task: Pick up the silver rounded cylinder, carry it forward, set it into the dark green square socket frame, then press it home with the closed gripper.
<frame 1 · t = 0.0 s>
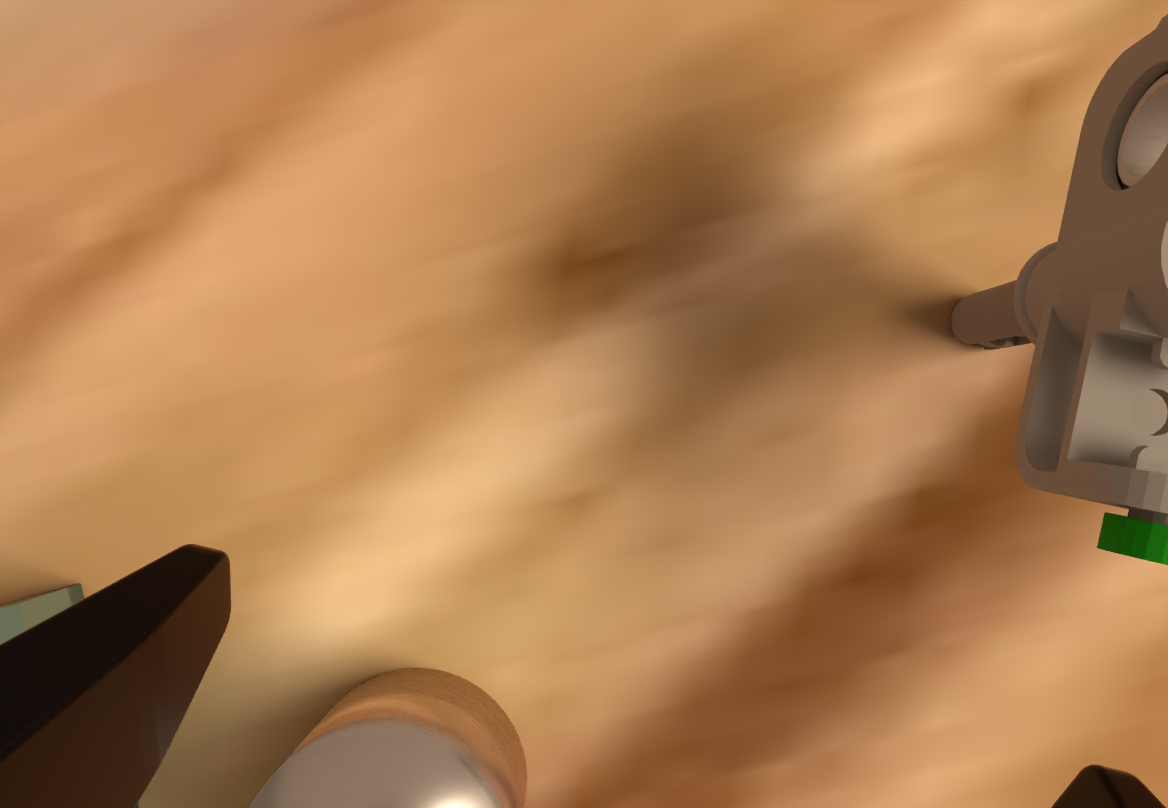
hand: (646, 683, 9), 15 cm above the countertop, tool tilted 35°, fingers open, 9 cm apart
mechanical component: (976, 322, 24), on the countertop
silver rounded cylinder: (417, 778, 24), on the countertop
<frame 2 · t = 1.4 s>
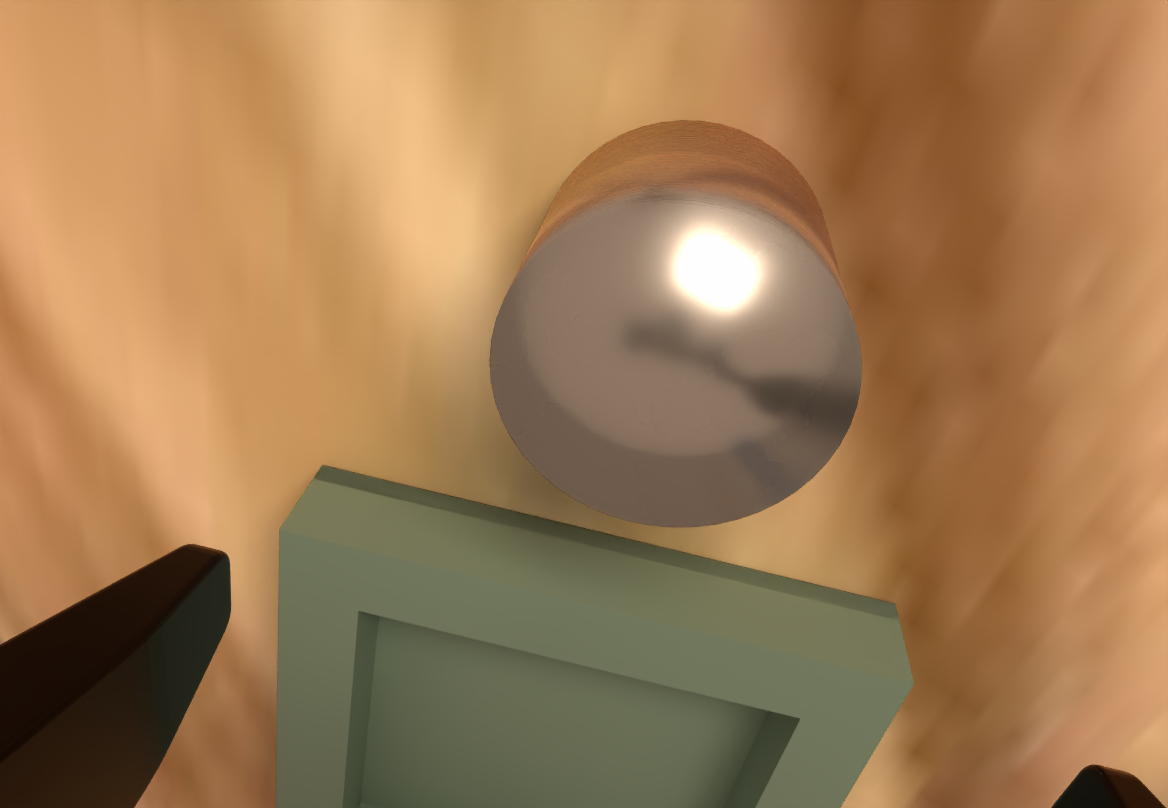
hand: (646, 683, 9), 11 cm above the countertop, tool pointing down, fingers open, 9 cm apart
socket frame: (556, 721, 27), on the countertop
silver rounded cylinder: (682, 265, 19), on the countertop
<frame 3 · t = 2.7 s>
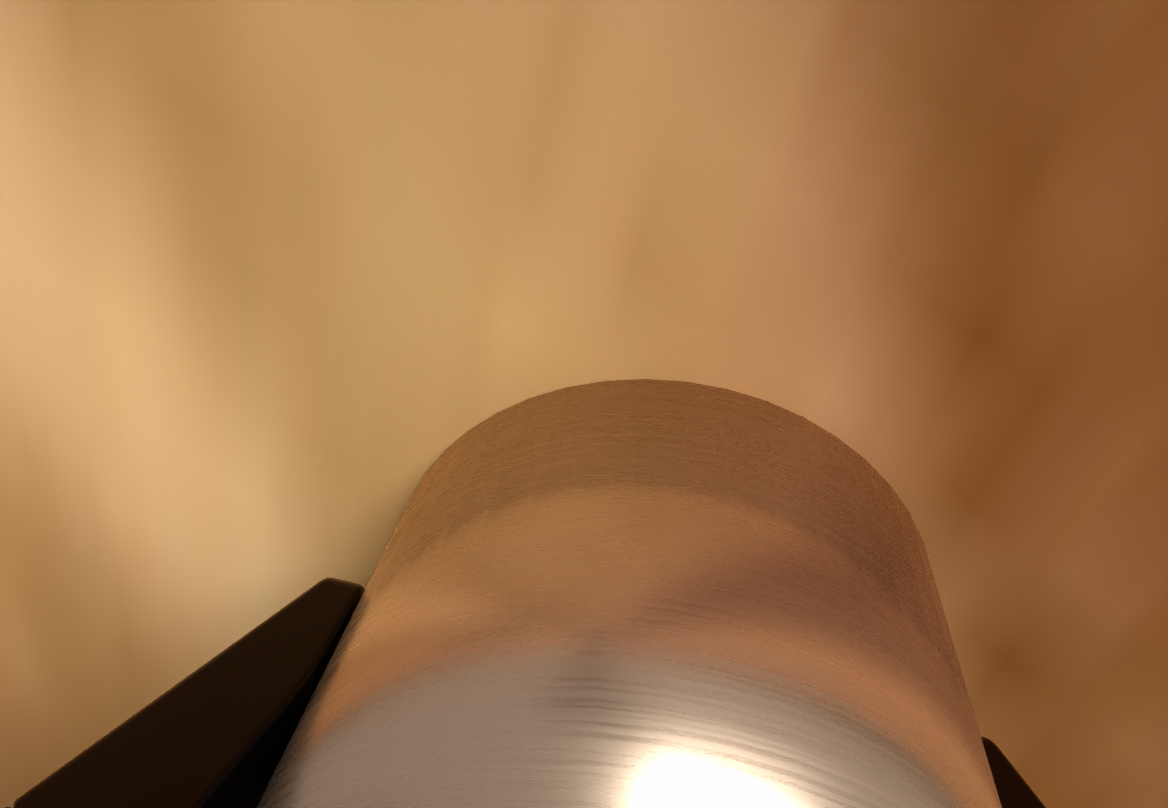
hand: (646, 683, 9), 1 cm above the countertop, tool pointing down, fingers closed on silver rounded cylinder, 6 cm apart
silver rounded cylinder: (653, 610, 10), on the countertop, touching gripper
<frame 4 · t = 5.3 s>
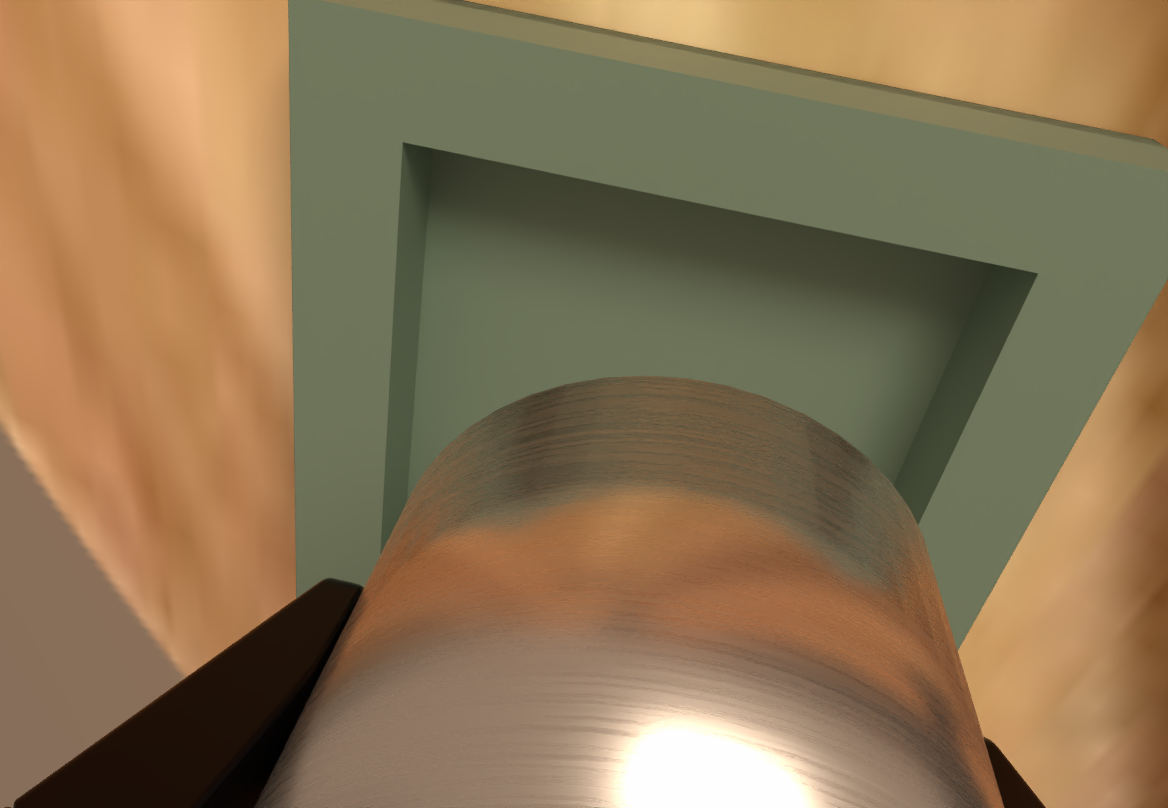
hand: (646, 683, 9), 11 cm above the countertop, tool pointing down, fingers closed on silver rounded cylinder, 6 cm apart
socket frame: (659, 399, 20), on the countertop
silver rounded cylinder: (653, 607, 10), point 10 cm above the countertop, touching gripper
when the fingers open (3 cm above the countertop, at t = 7.9 s): silver rounded cylinder drops 1 cm, resting on socket frame.
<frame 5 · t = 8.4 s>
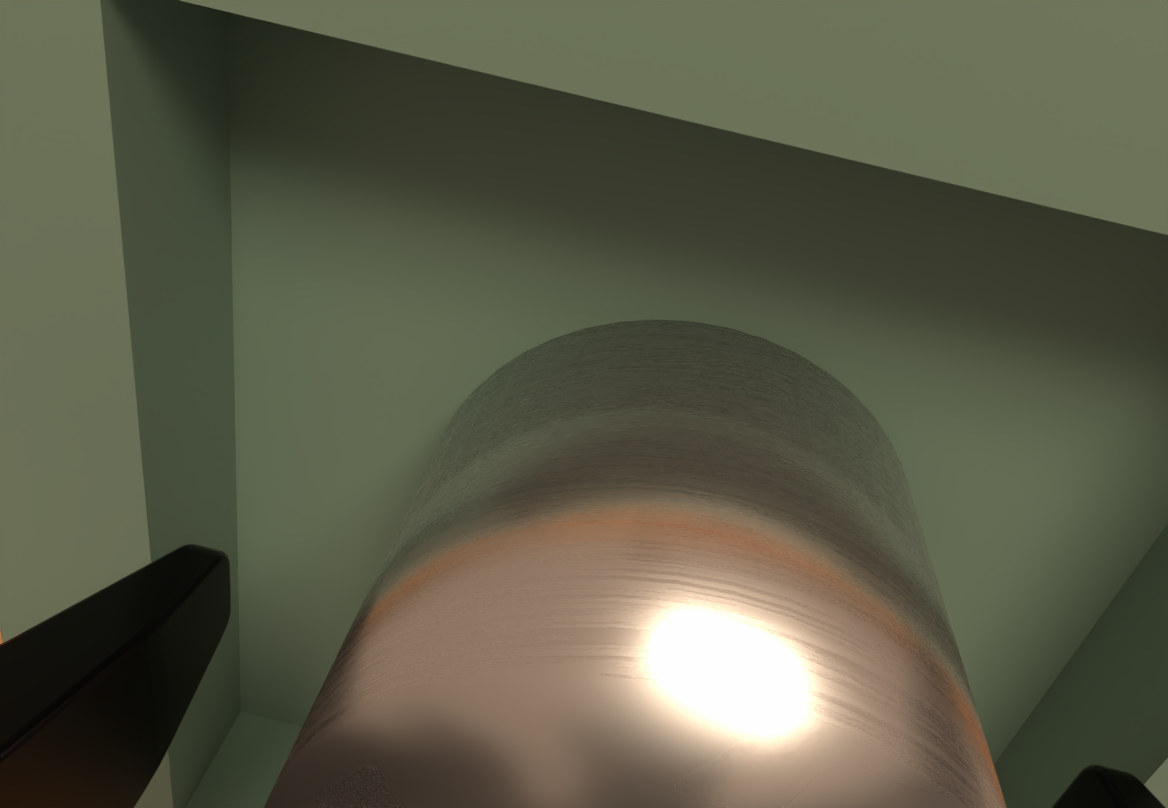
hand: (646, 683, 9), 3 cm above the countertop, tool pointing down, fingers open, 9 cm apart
socket frame: (660, 506, 12), on the countertop
silver rounded cylinder: (661, 535, 11), point 1 cm above the countertop, touching socket frame
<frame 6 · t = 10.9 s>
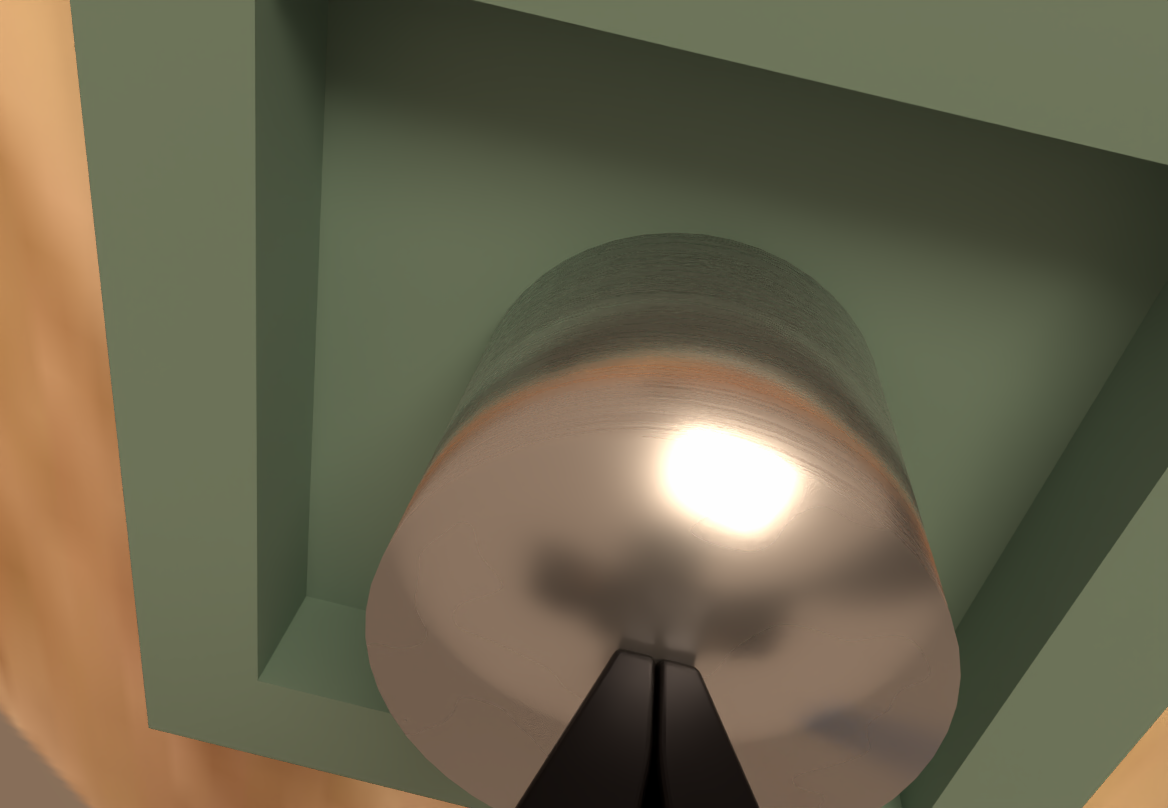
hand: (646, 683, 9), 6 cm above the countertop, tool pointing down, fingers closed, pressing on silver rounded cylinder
socket frame: (672, 403, 14), on the countertop
silver rounded cylinder: (673, 423, 13), point 1 cm above the countertop, touching gripper, socket frame
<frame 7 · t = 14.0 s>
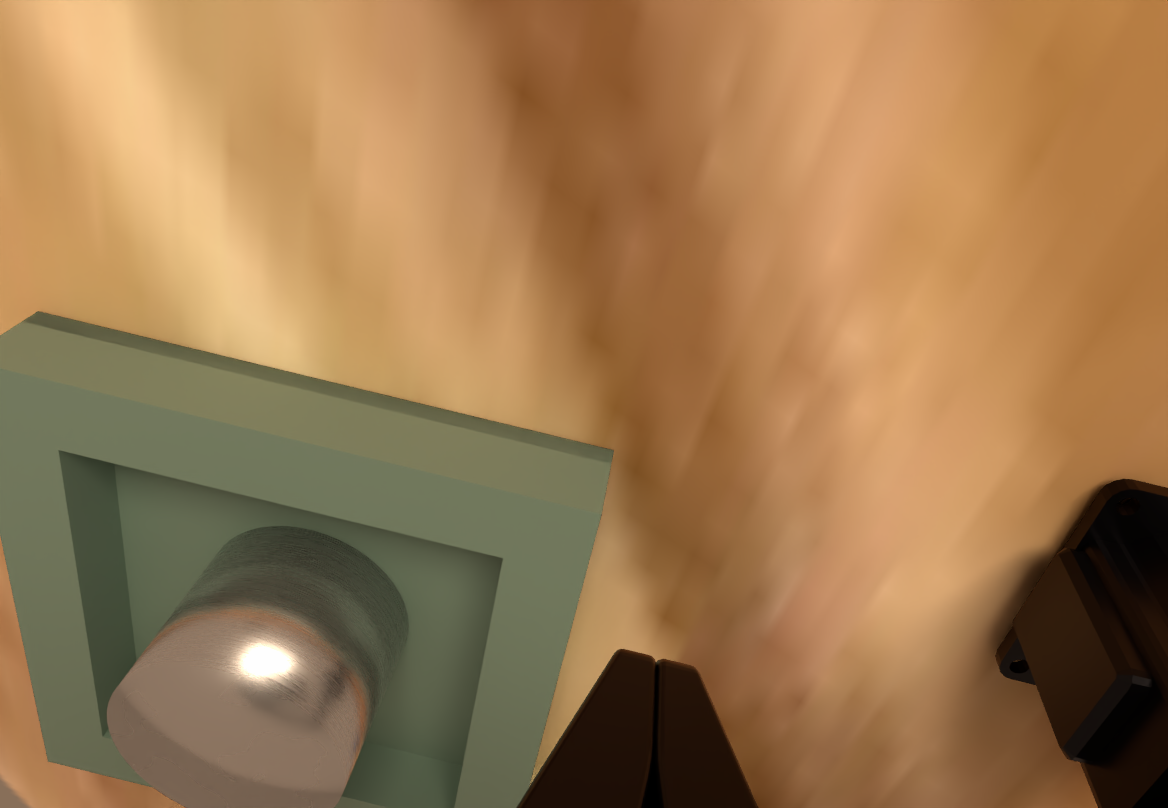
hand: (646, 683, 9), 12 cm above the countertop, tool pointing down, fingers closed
socket frame: (315, 592, 26), on the countertop
silver rounded cylinder: (308, 607, 26), point 1 cm above the countertop, touching socket frame
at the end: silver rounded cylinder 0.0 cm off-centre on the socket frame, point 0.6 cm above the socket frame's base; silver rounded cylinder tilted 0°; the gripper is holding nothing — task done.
